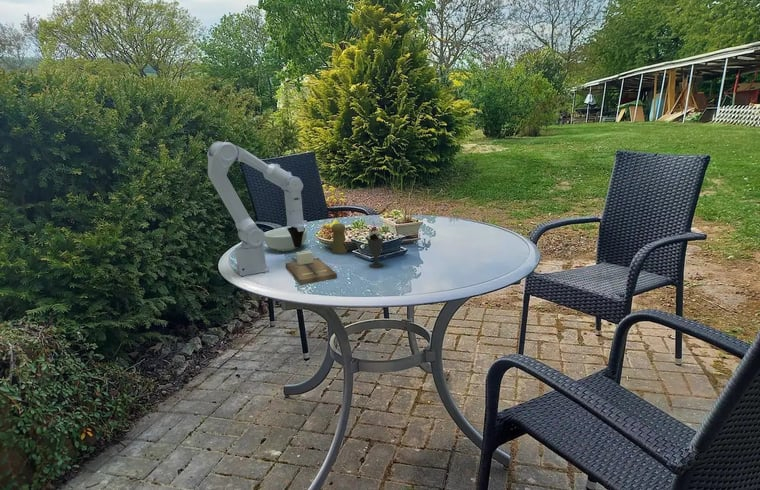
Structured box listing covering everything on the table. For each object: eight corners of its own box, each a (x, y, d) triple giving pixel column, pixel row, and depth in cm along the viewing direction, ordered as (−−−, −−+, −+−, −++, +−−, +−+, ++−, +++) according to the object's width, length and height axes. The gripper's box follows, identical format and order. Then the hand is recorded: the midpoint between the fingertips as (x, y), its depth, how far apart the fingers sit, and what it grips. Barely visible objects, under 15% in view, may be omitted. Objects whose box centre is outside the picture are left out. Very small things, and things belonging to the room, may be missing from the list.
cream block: (299, 265, 152) (298, 254, 151) (296, 262, 155) (295, 252, 154) (313, 262, 154) (312, 252, 153) (310, 260, 157) (309, 249, 156)
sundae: (376, 261, 159) (374, 220, 154) (389, 265, 154) (388, 222, 150) (362, 266, 154) (360, 223, 150) (376, 270, 149) (374, 226, 145)
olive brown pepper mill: (345, 254, 169) (343, 225, 166) (330, 253, 170) (328, 225, 167) (349, 249, 174) (348, 222, 172) (334, 249, 176) (332, 222, 173)
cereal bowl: (311, 242, 187) (309, 226, 185) (303, 254, 171) (301, 236, 169) (271, 243, 188) (269, 227, 186) (259, 255, 172) (257, 237, 170)
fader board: (300, 284, 139) (300, 279, 138) (285, 267, 156) (285, 262, 156) (337, 278, 143) (336, 273, 143) (318, 261, 161) (318, 257, 160)
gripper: (311, 211, 153) (314, 250, 157) (299, 205, 166) (303, 240, 169) (290, 214, 150) (294, 253, 154) (280, 207, 163) (284, 243, 167)
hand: (297, 247), depth 161 cm, fingers closed
